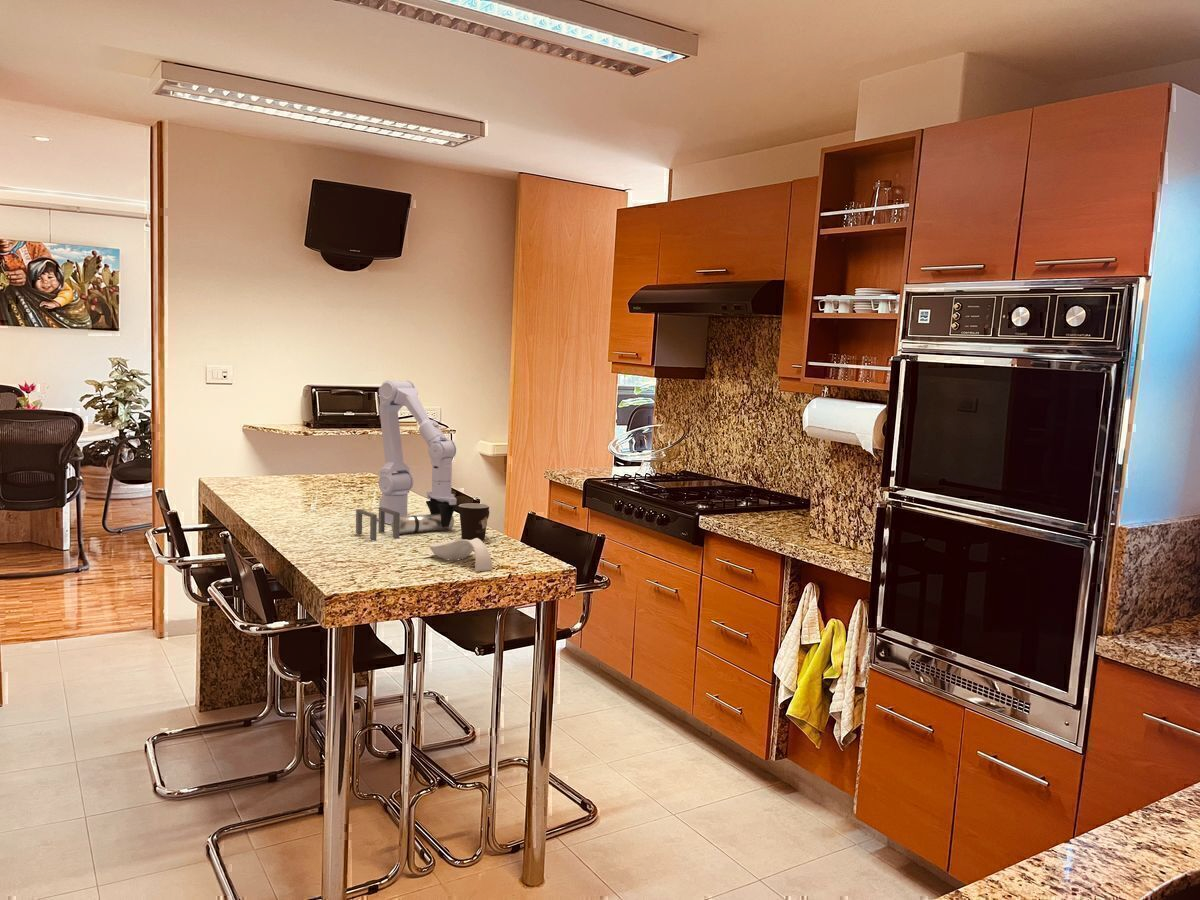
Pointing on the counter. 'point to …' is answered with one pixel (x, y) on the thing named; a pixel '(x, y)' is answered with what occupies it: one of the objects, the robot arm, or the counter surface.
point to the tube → (421, 523)
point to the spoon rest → (464, 552)
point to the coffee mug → (473, 520)
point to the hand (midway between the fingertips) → (440, 525)
